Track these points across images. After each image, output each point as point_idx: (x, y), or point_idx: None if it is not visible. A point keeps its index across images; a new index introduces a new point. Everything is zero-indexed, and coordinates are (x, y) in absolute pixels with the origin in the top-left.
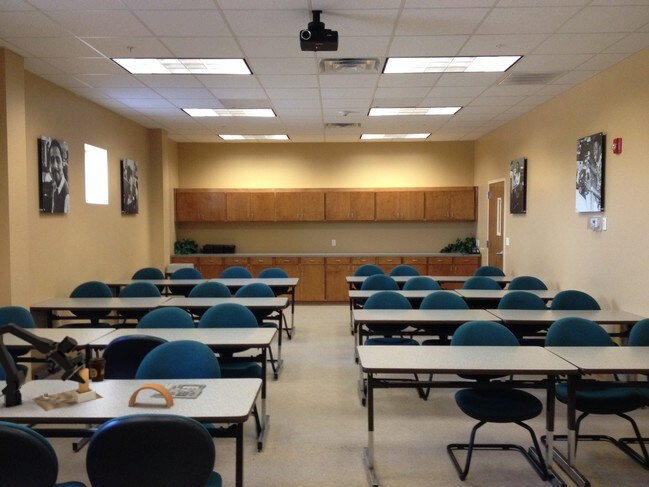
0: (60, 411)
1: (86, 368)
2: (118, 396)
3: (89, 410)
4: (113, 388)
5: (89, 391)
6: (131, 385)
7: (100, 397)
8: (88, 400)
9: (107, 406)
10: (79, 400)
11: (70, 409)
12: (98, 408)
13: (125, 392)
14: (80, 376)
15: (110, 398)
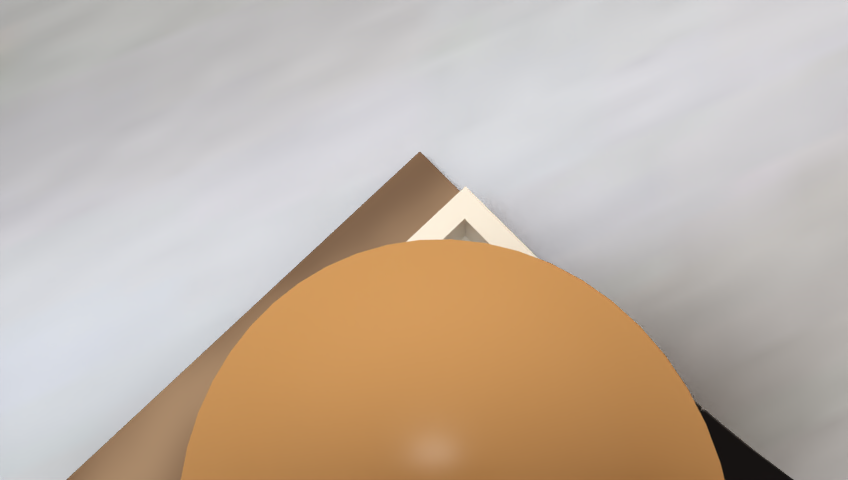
0: (818, 475)
1: (192, 434)
2: (338, 52)
3: (750, 158)
4: (97, 198)
5: None
6: (35, 63)
7: (420, 180)
8: None
9: (621, 34)
10: None
11: (740, 382)
12: (684, 94)
13: (229, 35)
14: None
15: (392, 102)
